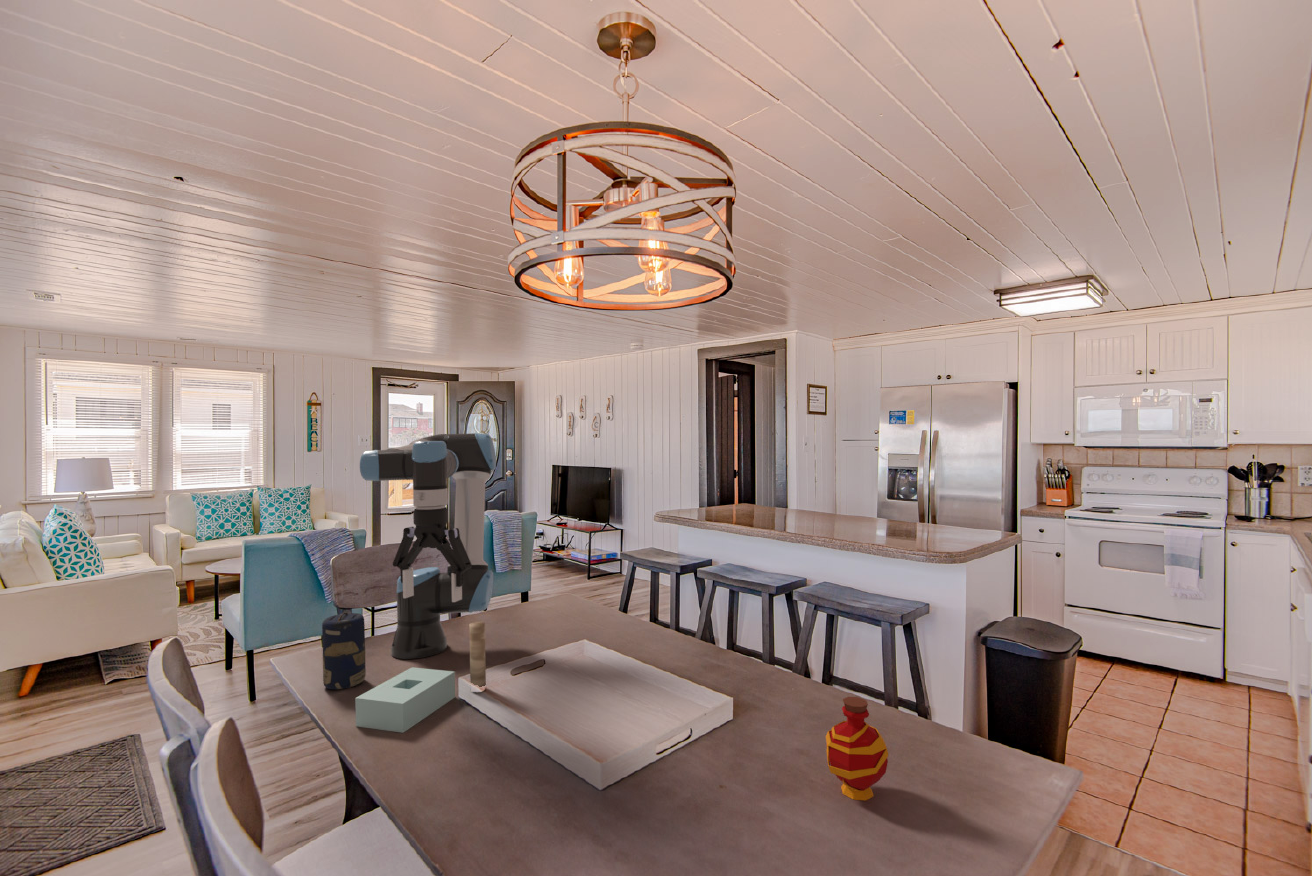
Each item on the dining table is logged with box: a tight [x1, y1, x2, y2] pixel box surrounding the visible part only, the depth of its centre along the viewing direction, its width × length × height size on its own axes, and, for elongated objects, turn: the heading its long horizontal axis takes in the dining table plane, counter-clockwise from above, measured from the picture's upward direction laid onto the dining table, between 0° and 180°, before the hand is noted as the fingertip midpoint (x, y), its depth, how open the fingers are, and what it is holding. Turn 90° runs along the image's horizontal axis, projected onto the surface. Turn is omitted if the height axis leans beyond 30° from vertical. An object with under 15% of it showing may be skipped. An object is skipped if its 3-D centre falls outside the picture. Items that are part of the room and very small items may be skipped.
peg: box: [468, 621, 487, 687], centre depth 146 cm, size 4×4×16 cm
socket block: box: [354, 667, 456, 734], centre depth 135 cm, size 18×12×6 cm, turn 164°
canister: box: [321, 611, 367, 690], centre depth 151 cm, size 10×10×18 cm
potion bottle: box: [825, 696, 889, 801], centre depth 101 cm, size 10×10×15 cm
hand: (432, 598), depth 140 cm, fingers open, 13 cm apart
